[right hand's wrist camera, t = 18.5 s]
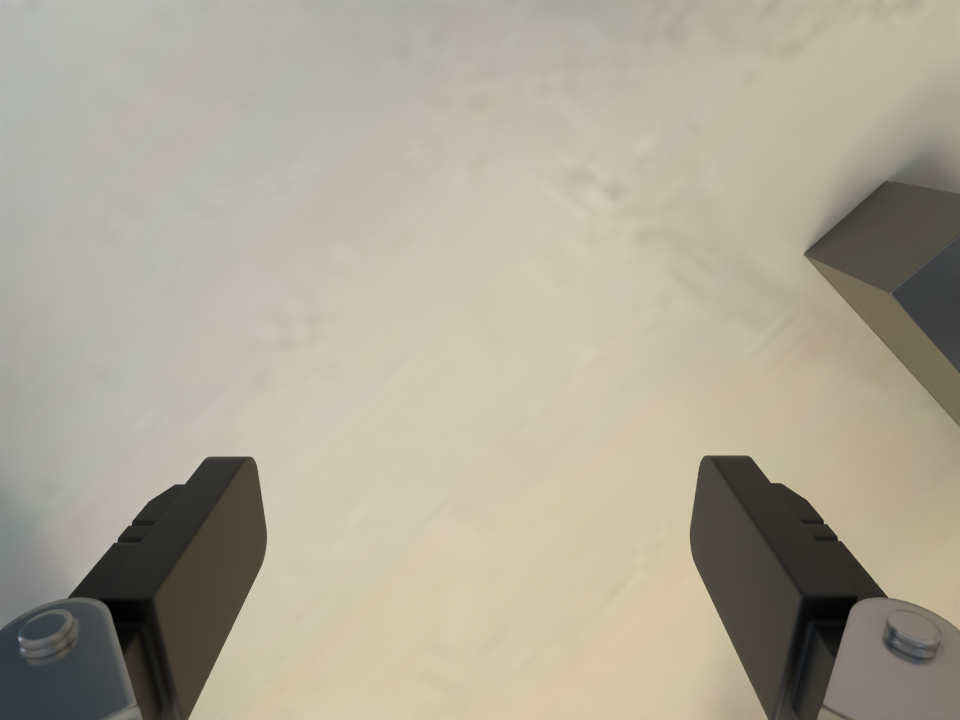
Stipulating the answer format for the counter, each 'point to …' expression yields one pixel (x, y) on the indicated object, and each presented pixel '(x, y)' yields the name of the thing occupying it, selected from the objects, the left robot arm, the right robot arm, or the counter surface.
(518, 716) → the counter surface
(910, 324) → the box
